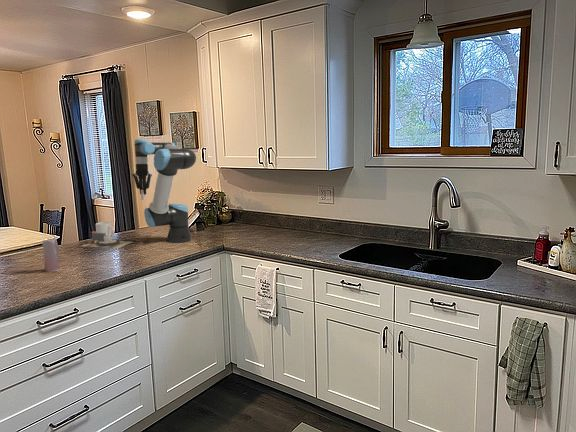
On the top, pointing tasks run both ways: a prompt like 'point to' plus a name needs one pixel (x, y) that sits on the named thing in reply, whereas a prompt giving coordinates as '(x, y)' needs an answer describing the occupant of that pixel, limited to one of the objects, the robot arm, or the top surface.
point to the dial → (102, 237)
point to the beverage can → (50, 255)
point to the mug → (104, 228)
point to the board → (122, 243)
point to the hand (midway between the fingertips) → (143, 199)
